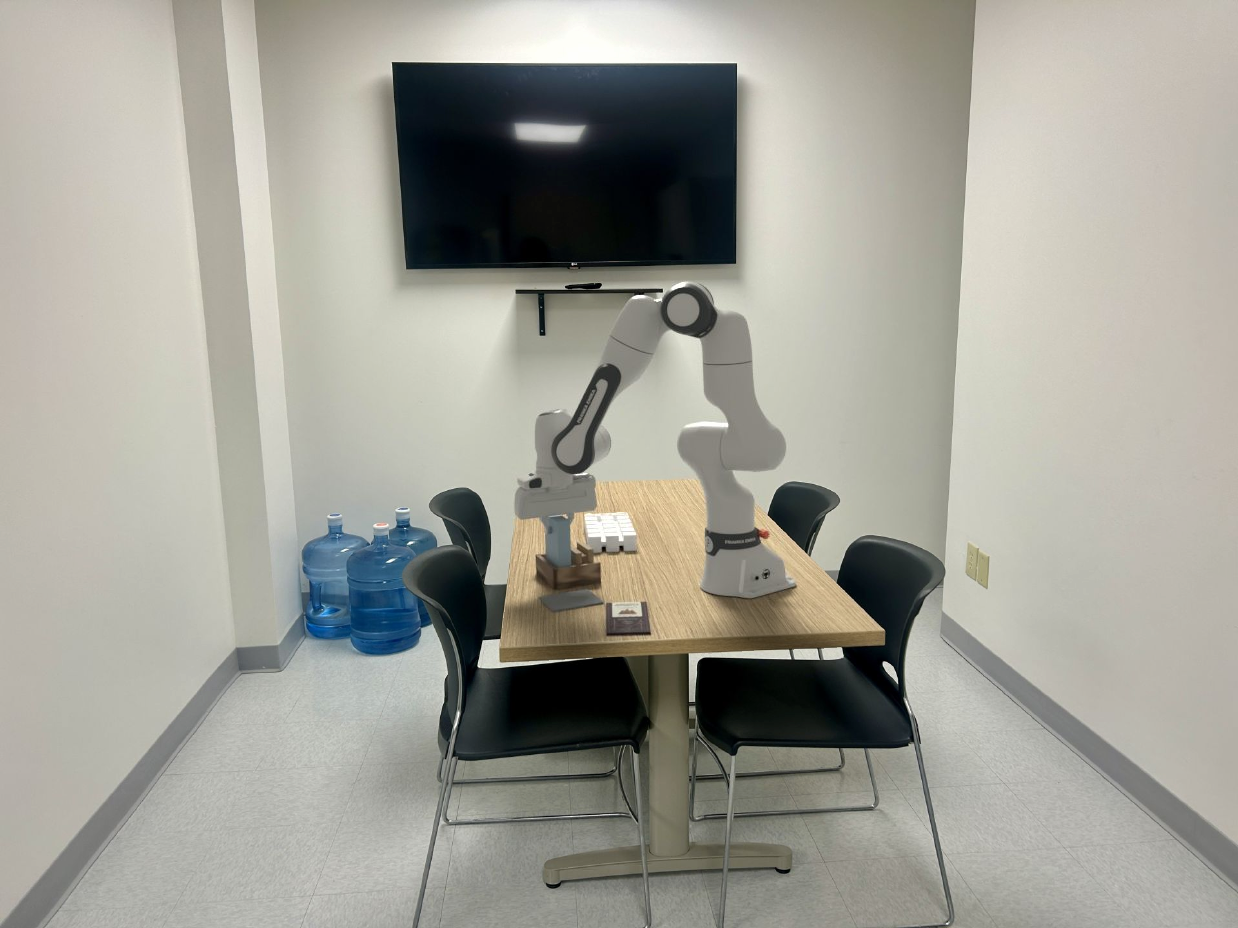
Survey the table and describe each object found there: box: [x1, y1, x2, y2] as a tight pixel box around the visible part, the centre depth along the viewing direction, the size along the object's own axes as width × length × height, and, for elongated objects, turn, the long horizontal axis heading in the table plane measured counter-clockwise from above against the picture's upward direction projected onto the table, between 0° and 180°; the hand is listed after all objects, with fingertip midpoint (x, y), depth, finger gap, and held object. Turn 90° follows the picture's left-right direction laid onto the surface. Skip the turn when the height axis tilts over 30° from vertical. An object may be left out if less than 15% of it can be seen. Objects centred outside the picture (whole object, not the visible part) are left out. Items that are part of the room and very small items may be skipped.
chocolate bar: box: [605, 601, 652, 637], centre depth 174 cm, size 9×1×18 cm
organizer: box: [583, 511, 638, 554], centre depth 242 cm, size 13×5×35 cm
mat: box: [538, 588, 605, 613], centre depth 186 cm, size 12×10×1 cm
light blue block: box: [544, 515, 572, 568], centre depth 200 cm, size 3×10×14 cm, turn 23°
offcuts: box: [571, 540, 595, 566], centre depth 203 cm, size 4×10×6 cm, turn 23°
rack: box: [535, 552, 602, 591], centre depth 202 cm, size 12×14×5 cm
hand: (557, 532), depth 200 cm, fingers closed on light blue block, 3 cm apart
